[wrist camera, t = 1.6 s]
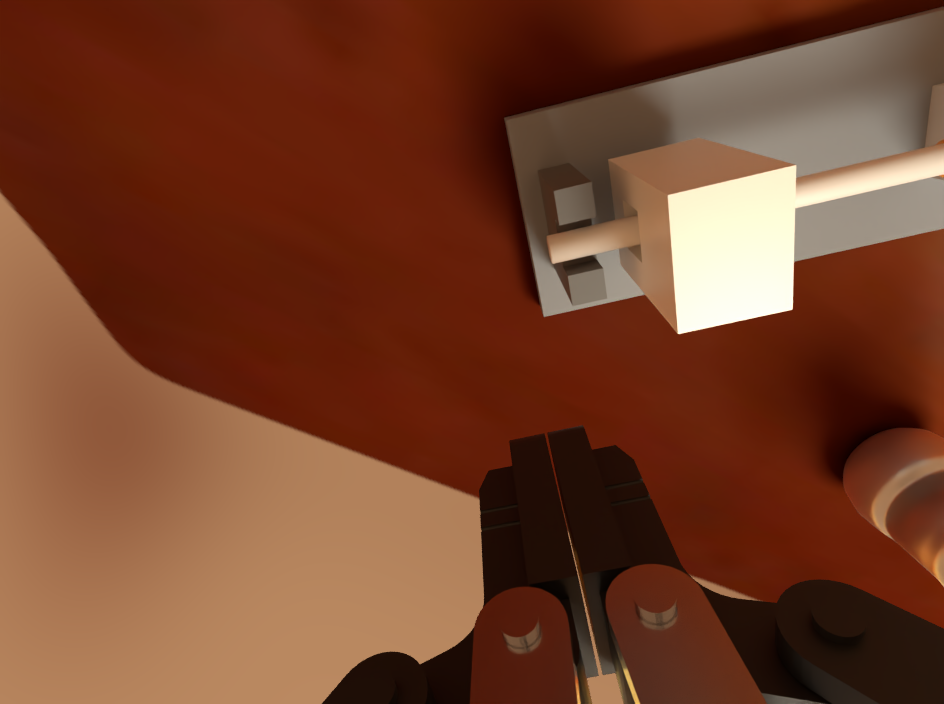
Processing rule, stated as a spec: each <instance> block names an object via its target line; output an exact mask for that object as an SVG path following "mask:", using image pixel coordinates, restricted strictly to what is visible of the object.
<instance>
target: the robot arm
mask: <svg viewBox="0 0 944 704" xmlns="http://www.w3.org/2000/svg"><path fill="white" fill-rule="evenodd" d="M548 438H549V443H550V448H551V453H552V458H553V462H554V467H555V472H556V477H557V481H558V486H559V491H560V496H561V500H562V505H563V509H564V514H565V518H566V522H567V527H568V531H569V535H570V539H571V543H572V548H573V552H574V556H575V560H576V564H577V569H578V573H579V577H580V581H581V585H582V590H583V593H584V598H585V602H586V606H587V611H588V615H589V619H590V623H591V627H592V632H593V636H594V640H595V644H596V649H597V653H598V657H599V661H600V665H601V669H602V674H603V675H606V674H612V673H616V676H617V680H618V684H619V688H620V692H621V695H622V699H623V703H624V704H944V629H943V628H941V627H939V626H937V625H935V624H932V623H930V622H928V621H926V620H924V619H922V618H920V617H918V616H916V615H913V614H911V613H909V612H907V611H905V610H903V609H901V608H899V607H897V606H894V605H892V604H890V603H888V602H886V601H884V600H882V599H880V598H878V597H875V596H873V595H871V594H869V593H867V592H865V591H863V590H861V589H858V588H856V587H853V586H851V585H848V584H844V583H841V582H836V581H830V580H808V581H804V582H800V583H797V584H795V585H793V586H791V587H790V588H788V589H787V590H786V591H785V592H784V593H783V594H782V595H781V596H780V598H779V600H778V602H777V603H771V602H762V601H753V600H744V599H737V598H731V597H727V596H724V595H720V594H718V593H715V592H713V591H711V590H709V589H707V588H705V587H703V586H702V585H700V584H699V583H698V582H696V581H695V580H694V579H693V578H692V577H691V576H690V575H689V574H688V573H687V572H686V571H685V570H684V568H683V567H682V565H681V563H680V561H679V559H678V557H677V555H676V553H675V550H674V548H673V546H672V544H671V541H670V539H669V537H668V535H667V533H666V530H665V528H664V526H663V524H662V521H661V519H660V517H659V515H658V513H657V510H656V508H655V506H654V504H653V501H652V499H650V495H649V493H648V490H647V488H646V486H645V484H644V483H643V480H642V477H641V475H640V473H639V470H638V468H637V466H636V464H635V461H634V460H633V459H632V458H631V457H630V456H628V455H627V454H626V453H625V452H623V451H622V450H621V449H620V448H618V447H617V446H616V445H614V446H609V447H604V448H599V449H594V450H592V449H591V446H590V443H589V441H588V438H587V435H586V432H585V429H584V427H583V426H578V427H573V428H568V429H563V430H558V431H553V432H548ZM509 442H510V450H511V458H512V465H513V466H510V467H505V468H500V469H495V470H490V471H488V473H487V475H486V477H485V479H484V481H483V483H482V486H481V488H480V490H479V496H480V511H481V515H480V516H481V517H480V518H481V530H482V532H481V538H482V561H483V582H484V605H483V609H482V610H481V611H480V613H479V616H478V617H477V620H476V623H475V627H474V628H473V630H472V631H471V632H470V633H469V634H468V635H467V636H466V637H465V638H464V639H463V640H462V641H461V642H460V643H458V644H457V645H456V646H455V647H452V648H451V649H449V650H447V651H445V652H443V653H442V654H440V655H438V656H436V657H434V658H432V659H430V660H428V661H426V662H424V663H422V664H419V663H418V662H417V661H416V660H415V659H414V658H412V657H411V656H409V655H407V654H404V653H400V652H384V653H380V654H376V655H374V656H372V657H369V658H367V659H366V660H364V661H362V662H361V663H359V664H358V665H357V666H355V667H354V668H353V669H352V670H351V671H350V672H349V673H348V674H347V675H346V676H345V677H344V678H343V680H342V681H341V682H340V683H339V684H338V685H337V687H336V688H335V689H334V690H333V691H332V692H331V694H330V695H329V696H328V697H327V698H326V699H325V701H324V702H323V703H322V704H592V700H591V696H590V691H589V686H588V681H587V678H589V677H595V676H598V670H597V666H596V661H595V656H594V651H593V646H592V641H591V637H590V632H589V627H588V623H587V618H586V613H585V608H584V603H583V598H582V594H581V589H580V584H579V579H578V575H577V571H576V566H575V562H574V558H573V554H572V549H571V545H570V541H569V537H568V532H567V528H566V524H565V519H564V515H563V511H562V506H561V502H560V498H559V494H558V489H557V485H556V481H555V477H554V472H553V468H552V464H551V460H550V455H549V451H548V447H547V443H546V438H545V434H539V435H534V436H529V437H525V438H520V439H515V440H510V441H509Z"/></svg>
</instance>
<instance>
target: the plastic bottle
mask: <svg viewBox="0 0 944 704" xmlns="http://www.w3.org/2000/svg"><path fill="white" fill-rule="evenodd" d="M843 487H844V490H845V492H846V494H847V496H848V498H849V499H850V501H851V503H852V504H853V506H854V507H855V509H856V510H857V512H858V513H859V514H860V515H861V516H862V517H863V518H865V519H866V520H867V521H868V522H869V523H871V524H872V525H873V526H874V527H875V528H877V529H878V530H880V531H881V532H882V533H884V534H885V535H887V536H888V537H890V538H891V539H893V540H894V541H895V542H897V543H898V544H899V545H900V546H901V547H902V548H903V549H904V550H905V551H907V552H908V553H909V554H910V555H911V556H912V557H913V558H914V559H916V560H917V561H918V562H919V563H920V564H921V565H922V566H923V567H924V568H926V569H927V570H928V571H929V572H930V573H931V574H932V575H933V576H934V577H936V578H937V579H938V580H939V582H940V583H941V584H942V585H943V586H944V438H943V437H941V436H939V435H937V434H935V433H933V432H931V431H928V430H925V429H919V428H894V429H888V430H885V431H882V432H879V433H877V434H875V435H873V436H871V437H869V438H868V439H866V440H865V441H863V442H862V443H861V444H860V445H858V446H857V447H856V448H855V449H854V450H853V452H852V453H851V454H850V456H849V457H848V459H847V461H846V463H845V465H844V471H843Z"/></svg>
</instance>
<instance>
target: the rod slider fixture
mask: <svg viewBox="0 0 944 704" xmlns="http://www.w3.org/2000/svg"><path fill="white" fill-rule="evenodd" d="M504 120H505V125H506V131H507V136H508V141H509V146H510V151H511V157H512V162H513V167H514V172H515V177H516V183H517V188H518V193H519V198H520V203H521V208H522V214H523V219H524V224H525V229H526V234H527V240H528V245H529V250H530V255H531V260H532V266H533V271H534V276H535V281H536V286H537V292H538V297H539V302H540V307H541V310H542V313H543V316H544V317H545V316H550V315H554V314H559V313H564V312H568V311H573V310H577V309H582V308H586V307H591V306H595V305H600V304H604V303H609V302H613V301H618V300H622V299H627V298H631V297H636V296H640V295H645V294H644V292H643V291H642V290H641V289H640V288H639V286H638V285H637V284H636V283H635V282H634V280H633V279H632V278H631V277H630V276H629V274H628V273H627V272H626V271H625V270H624V268H623V267H622V266H621V265H620V256H619V249H620V248H625V247H629V246H633V245H638V244H640V234H639V224H638V215H634V216H630V217H625V218H621V219H617V220H615V214H614V205H613V197H612V189H611V180H610V172H609V163H608V159H613V158H617V157H621V156H625V155H629V154H633V153H637V152H641V151H646V150H650V149H654V148H658V147H662V146H666V145H670V144H674V143H678V142H683V141H687V140H691V139H695V138H702V139H705V140H709V141H712V142H716V143H720V144H723V145H727V146H730V147H734V148H737V149H741V150H745V151H748V152H752V153H755V154H759V155H763V156H766V157H770V158H773V159H777V160H780V161H784V162H788V163H791V164H795V165H796V196H795V233H794V261H799V260H803V259H808V258H812V257H817V256H821V255H826V254H830V253H835V252H839V251H844V250H848V249H853V248H857V247H862V246H867V245H871V244H876V243H880V242H885V241H889V240H894V239H898V238H903V237H907V236H912V235H916V234H921V233H925V232H930V231H934V230H939V229H943V228H944V6H943V7H939V8H935V9H931V10H927V11H924V12H920V13H916V14H912V15H908V16H904V17H900V18H896V19H892V20H888V21H884V22H880V23H876V24H872V25H868V26H864V27H860V28H856V29H852V30H848V31H845V32H841V33H837V34H833V35H829V36H825V37H821V38H817V39H813V40H809V41H805V42H801V43H797V44H793V45H789V46H785V47H781V48H777V49H773V50H770V51H766V52H762V53H758V54H754V55H750V56H746V57H742V58H738V59H734V60H730V61H726V62H722V63H718V64H714V65H710V66H706V67H702V68H698V69H694V70H691V71H687V72H683V73H679V74H675V75H671V76H667V77H663V78H659V79H655V80H651V81H647V82H643V83H639V84H635V85H631V86H627V87H623V88H619V89H616V90H612V91H608V92H604V93H600V94H596V95H592V96H588V97H584V98H580V99H576V100H572V101H568V102H564V103H560V104H556V105H552V106H548V107H544V108H540V109H537V110H533V111H529V112H525V113H521V114H517V115H513V116H509V117H505V118H504Z"/></svg>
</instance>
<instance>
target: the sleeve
mask: <svg viewBox="0 0 944 704" xmlns="http://www.w3.org/2000/svg"><path fill="white" fill-rule="evenodd" d="M608 163H609V172H610V180H611V189H612V197H613V205H614V214H615V220H617V219H621V218H625V217H630V216H634V215H638V224H639V234H640V244H638V245H633V246H629V247H625V248H620V249H619V256H620V265H621V266H622V267H623V268H624V270H625V271H626V272H627V273H628V274H629V276H630V277H631V278H632V279H633V280H634V282H635V283H636V284H637V285H638V286H639V288H640V289H641V290H642V291H643V292H644V294H645V295H646V296H647V297H648V298H649V300H650V301H651V302H652V303H653V305H654V306H655V307H656V308H657V309H658V311H659V312H660V313H661V314H662V315H663V317H664V318H665V319H666V320H667V321H668V323H669V324H670V325H671V326H672V327H673V329H674V330H675V331H676V332H677V333H678V334H681V333H685V332H690V331H695V330H699V329H704V328H709V327H713V326H718V325H723V324H727V323H732V322H737V321H741V320H746V319H751V318H755V317H760V316H765V315H769V314H774V313H779V312H783V311H788V310H792V309H793V271H794V233H795V196H796V165H795V164H791V163H788V162H784V161H780V160H777V159H773V158H770V157H766V156H763V155H759V154H755V153H752V152H748V151H745V150H741V149H737V148H734V147H730V146H727V145H723V144H720V143H716V142H712V141H709V140H705V139H702V138H695V139H691V140H687V141H683V142H678V143H674V144H670V145H666V146H662V147H658V148H654V149H650V150H646V151H641V152H637V153H633V154H629V155H625V156H621V157H617V158H613V159H608Z"/></svg>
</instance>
